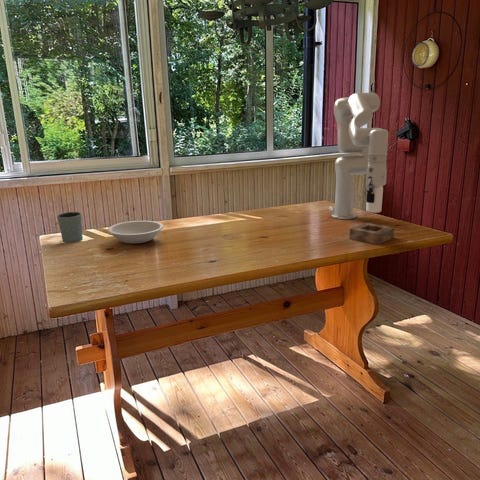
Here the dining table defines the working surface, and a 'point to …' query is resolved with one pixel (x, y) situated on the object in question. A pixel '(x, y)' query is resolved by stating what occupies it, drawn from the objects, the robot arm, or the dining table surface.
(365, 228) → the socket block
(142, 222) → the soup bowl
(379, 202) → the can
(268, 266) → the dining table surface
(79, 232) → the grey green cup
